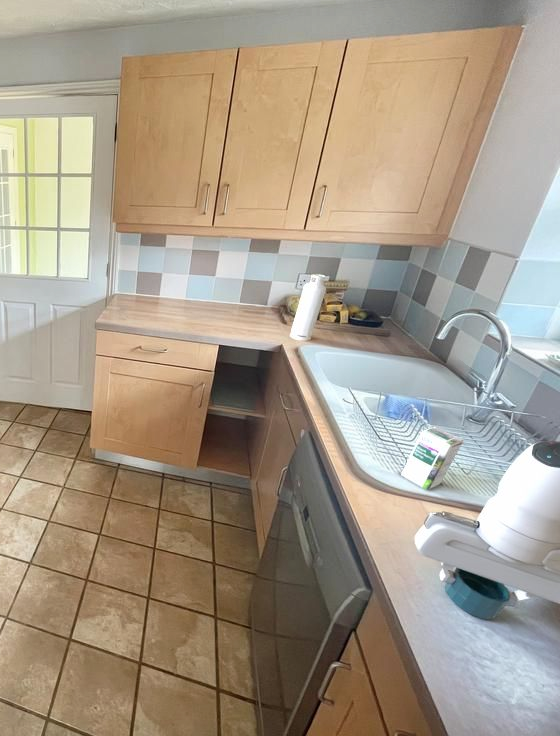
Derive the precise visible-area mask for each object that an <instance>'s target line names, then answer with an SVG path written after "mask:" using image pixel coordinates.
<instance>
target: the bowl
mask: <svg viewBox="0 0 560 736" xmlns="http://www.w3.org/2000/svg"><path fill="white" fill-rule="evenodd" d="M453 571H454V575H455V577H456V580H455V582H453V583H454V584H453V585H451V584H448V583H446V582H445V585H444V591H445V594H446V595H447V596H448V598H449V599H450V600H451V601H452V603H453V604H455V605H456V606H457V607H458V608H460V610H462V611H464V612H466V613H467V614H469V615H472V616H474V617H476V618H480V619H484V620H494V619H496V618H498V617H499V615H500V614H501V612H502V611H503V610H504V609H505V607H506V606H507V605H506V604H507V603H508V601H509V600H510V597H511V595H510V593H509V591H510V590H509V588H507V587H506V585H504V584H502V583H499V582H496V581H493V580H490V579H487V578H485V577H482V576H479V575H476V574H473V573H471V572H468V571H465V570H462V569H459V568H456V567H455V569H453Z"/></svg>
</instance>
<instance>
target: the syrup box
mask: <svg viewBox="0 0 560 736" xmlns="http://www.w3.org/2000/svg"><path fill="white" fill-rule="evenodd" d="M464 441H465V439H464V438H461V437H459V436H456V435H454V434H452V433H450V432H448V431H445V430H443V429H441V428H439V427H438V426H434V427H433V426H432V427H429V428H426V429H424V430H422V431H421V432H420V434H419V437H418V438H417V440H416V442H415V445H414V447H413V449H412V450H411V453H410V456H409V458H408V460H407V462H406V464H405V466H404V468H403V470H402V472H401V474H400V475H401V476H402V477H404V478H406V479H407V480H409V481H411V482H412V483H413V484H416V485H417V486H418V487H421V488H422V489H424V490H426V491H428V490H430V489H433V488H435V487H437V486H439V485H441V484H442V481H443V480H444V478H445V476H446V474H447V473H448V470H449V468H450V467H451V465H452V463H453V461H454V459H455V458H456V456H457V454H458V452H459V450H460V448H461V447H462V445H463V443H464Z"/></svg>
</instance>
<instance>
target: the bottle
mask: <svg viewBox="0 0 560 736" xmlns="http://www.w3.org/2000/svg"><path fill="white" fill-rule="evenodd" d="M325 279H326V276H325V275H323V274H319V273H313V274H311V277H310V281H309V282H307V283H305V284H304V285H303V288H302V291H301V294H300V295H301V296H300V299H299V302H298V306H297V310H296V313H295V317H294V319H293V320H294V321H293V323H292V326H291V331H290V334H289V337H290V338H292V339H294V340H297V341H303V342H309V341H311V340H312V335H313V333H314V331H315V326H316V323H317V320H318V317H319V314H320V311H321V307H322V304H323V301H324V297H325V294H326V291H327V287H326V286H325V285H324V281H325Z"/></svg>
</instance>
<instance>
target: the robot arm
mask: <svg viewBox="0 0 560 736" xmlns="http://www.w3.org/2000/svg"><path fill="white" fill-rule="evenodd" d="M414 544H415V547H416V549H417V551H418V553H419V554H420V555H421V556H423V557H426V558H428V559H431V560H433V561H436V562H440V565H441V568H442V569H441V570H440V572H439V578H440V579H439V580H440V582H444V583H445V584H446V583H448V584H451V585H453V584H454V583H453V582H455V580H456V577H455V575H454V568H455V569H456V568H459V569H462V570H465V571H468V572H471V573H473V574H476V575H479V576H482V577H485V578H487V579H490V580H493V581H496V582H499V583H502V584H503V585H504V586H508V587H511V588H513V589H516V590H514V591H510V590H508V591H509V593H510V595H511V597H510V600H509V601H508V603H507V604H506V606H508V607H511V608H513V609H517V610H518V609H519V607H520V606H521V604H525V603H530V602H531V603H532V602H534V601H538V599H539V598H540V599H544V600H547V601H550V602H553V603H555V604H558V605H560V441H555V440H544V441H543V440H542V441H538V442H535V443H532V444H531V445H530V446H528V447H526V449H524V450H523V451H522V452H521V453H520V454H519V455H518V456H517V457H516V458H515V460H513V462H512V463H511V464H510V466H509V467H508V468H507V470H506V471H505V473H504V474H503V476H502V477H501V479H500V481H499V482H498V488H497V492H496V494H495V495H493V496H492V497H490V498H489V499H488V500H487V502H486V503H485V504H484V506H483V508H482V510H481V512H480V513H479V514H478V517H477V518H476V519H471V518H468V517H465V516H460V515H457V514H454V513H453V512H449V511H444V510H443V511H441V512H440V511H434V512H429V513H428V514H427V516H426V518H425V520H424V522H423V524H422V526H421V527H420V528H419V530H417V532H416V534H415V535H414Z"/></svg>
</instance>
